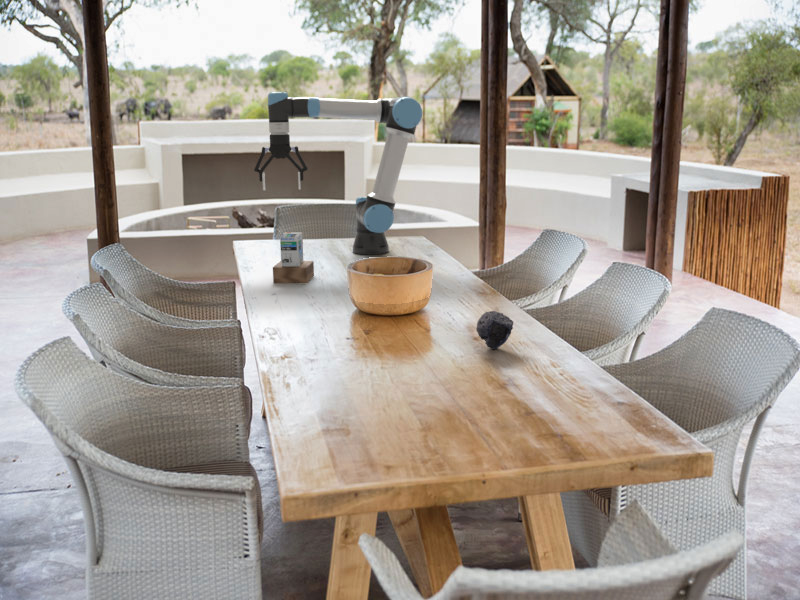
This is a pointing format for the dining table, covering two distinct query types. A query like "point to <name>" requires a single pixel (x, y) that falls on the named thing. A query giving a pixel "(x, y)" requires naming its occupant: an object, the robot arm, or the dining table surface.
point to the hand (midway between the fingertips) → (282, 189)
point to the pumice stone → (494, 328)
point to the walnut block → (293, 273)
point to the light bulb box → (291, 249)
